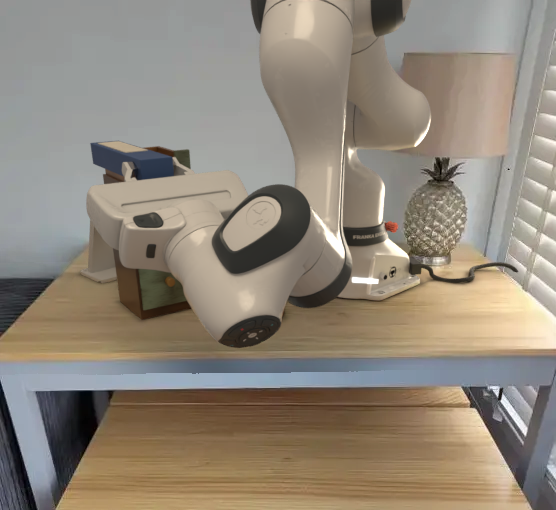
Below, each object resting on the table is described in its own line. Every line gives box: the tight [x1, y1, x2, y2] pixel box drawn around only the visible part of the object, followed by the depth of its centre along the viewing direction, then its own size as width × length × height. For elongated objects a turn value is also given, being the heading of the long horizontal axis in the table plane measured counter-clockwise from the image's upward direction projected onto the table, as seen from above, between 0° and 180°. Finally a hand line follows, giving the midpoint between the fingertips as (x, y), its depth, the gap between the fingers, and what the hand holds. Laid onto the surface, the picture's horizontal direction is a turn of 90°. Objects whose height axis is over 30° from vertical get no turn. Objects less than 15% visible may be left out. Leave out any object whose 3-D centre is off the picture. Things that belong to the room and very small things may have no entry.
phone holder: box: [79, 219, 117, 284], centre depth 138 cm, size 17×10×18 cm, turn 136°
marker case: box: [89, 140, 174, 180], centre depth 85 cm, size 4×20×3 cm, turn 33°
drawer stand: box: [102, 145, 192, 321], centre depth 115 cm, size 12×13×30 cm
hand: (148, 163), depth 80 cm, fingers closed on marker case, 4 cm apart
